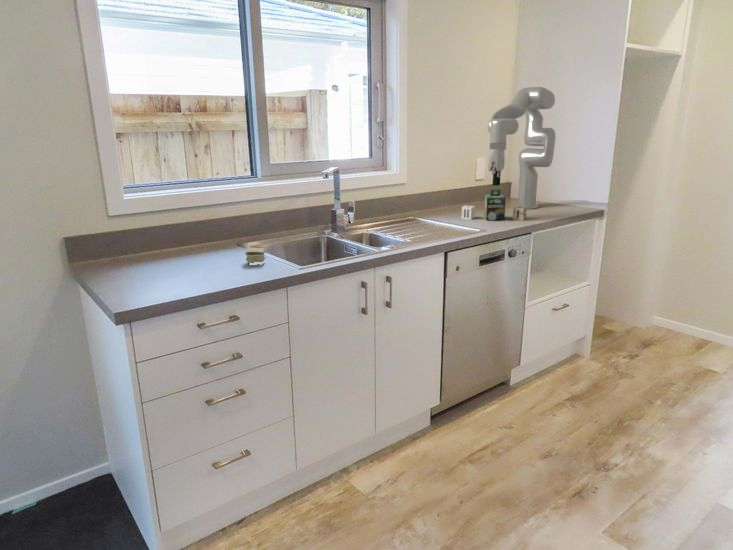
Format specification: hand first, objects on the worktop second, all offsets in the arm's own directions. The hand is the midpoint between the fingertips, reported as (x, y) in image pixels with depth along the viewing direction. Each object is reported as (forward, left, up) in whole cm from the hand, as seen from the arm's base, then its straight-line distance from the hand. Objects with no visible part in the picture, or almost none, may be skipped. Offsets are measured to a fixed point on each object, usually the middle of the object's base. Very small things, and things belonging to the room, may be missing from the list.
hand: (496, 185), depth 252 cm
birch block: (-5, +11, -17) cm, 20 cm away
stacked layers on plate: (+119, -46, -17) cm, 129 cm away
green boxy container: (0, 0, -17) cm, 17 cm away
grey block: (+4, -12, -17) cm, 21 cm away
